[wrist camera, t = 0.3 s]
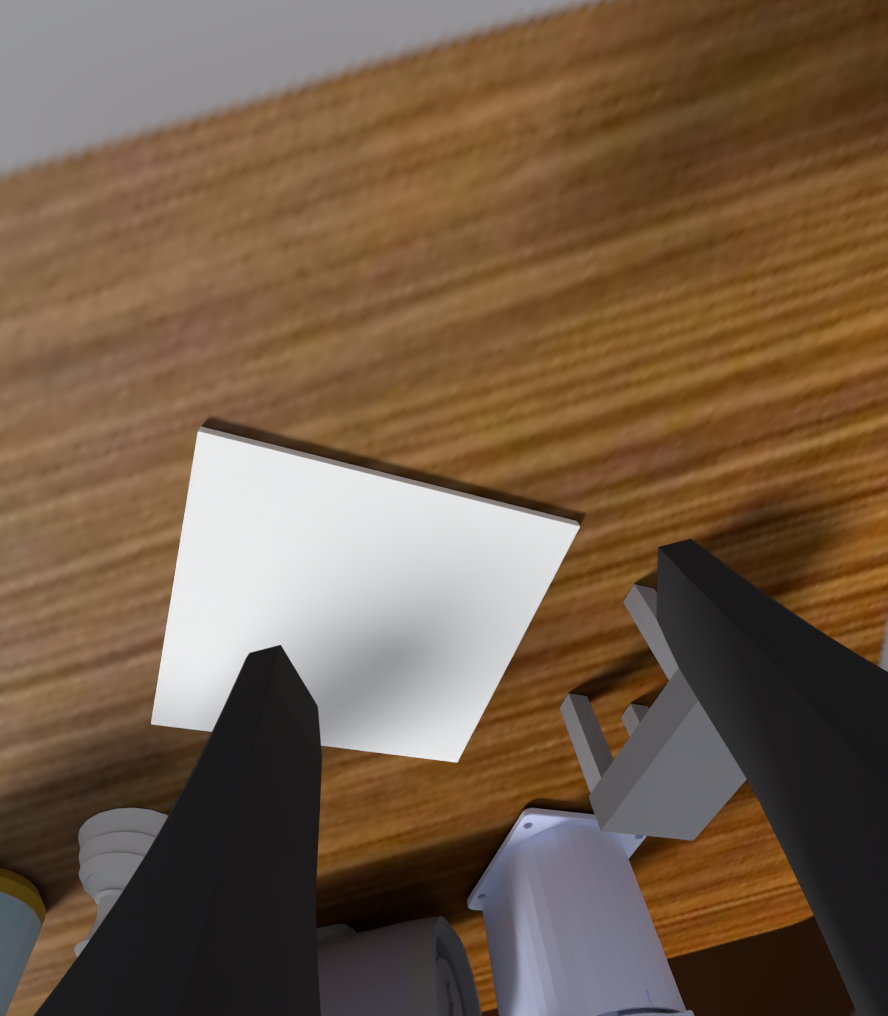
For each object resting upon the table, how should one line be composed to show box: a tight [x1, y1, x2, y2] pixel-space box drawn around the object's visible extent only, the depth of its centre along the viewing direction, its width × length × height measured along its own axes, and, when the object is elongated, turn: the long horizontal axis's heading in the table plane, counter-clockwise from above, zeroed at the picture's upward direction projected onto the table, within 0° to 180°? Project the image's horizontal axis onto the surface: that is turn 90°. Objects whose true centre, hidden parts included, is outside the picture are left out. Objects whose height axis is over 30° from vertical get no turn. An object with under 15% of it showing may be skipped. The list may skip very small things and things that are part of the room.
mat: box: [151, 427, 580, 762], centre depth 24 cm, size 14×14×1 cm
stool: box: [560, 584, 746, 840], centre depth 25 cm, size 8×4×6 cm, turn 161°
